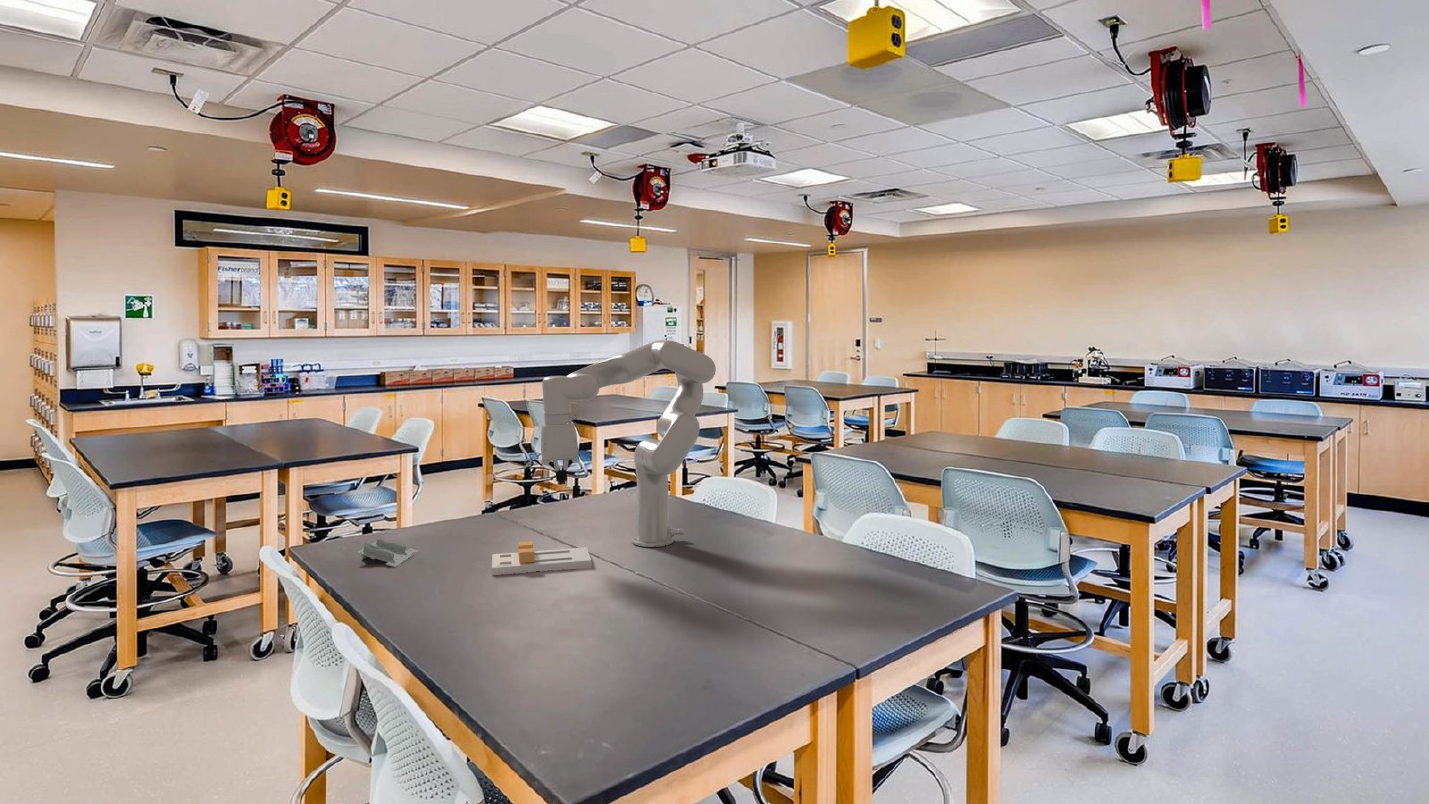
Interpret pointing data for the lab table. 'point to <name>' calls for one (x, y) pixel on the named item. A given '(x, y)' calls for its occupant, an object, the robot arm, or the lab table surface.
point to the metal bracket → (386, 552)
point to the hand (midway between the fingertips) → (561, 483)
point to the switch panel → (541, 561)
